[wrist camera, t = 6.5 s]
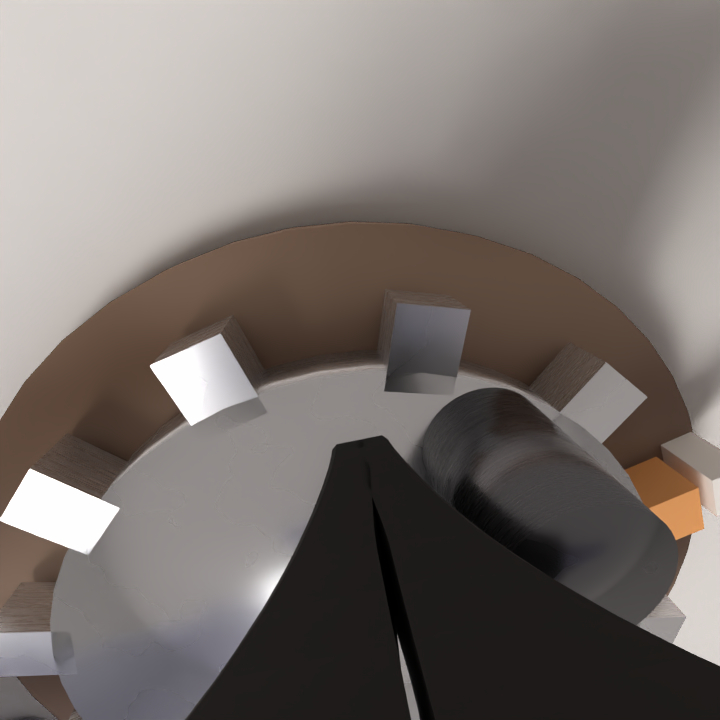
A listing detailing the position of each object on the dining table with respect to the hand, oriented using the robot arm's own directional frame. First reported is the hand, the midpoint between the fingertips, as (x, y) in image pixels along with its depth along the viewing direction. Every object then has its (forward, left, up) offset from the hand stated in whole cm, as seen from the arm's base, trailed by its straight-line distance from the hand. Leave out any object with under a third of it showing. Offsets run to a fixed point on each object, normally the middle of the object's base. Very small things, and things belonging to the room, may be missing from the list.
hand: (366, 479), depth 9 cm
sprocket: (-6, +1, -3) cm, 7 cm away
